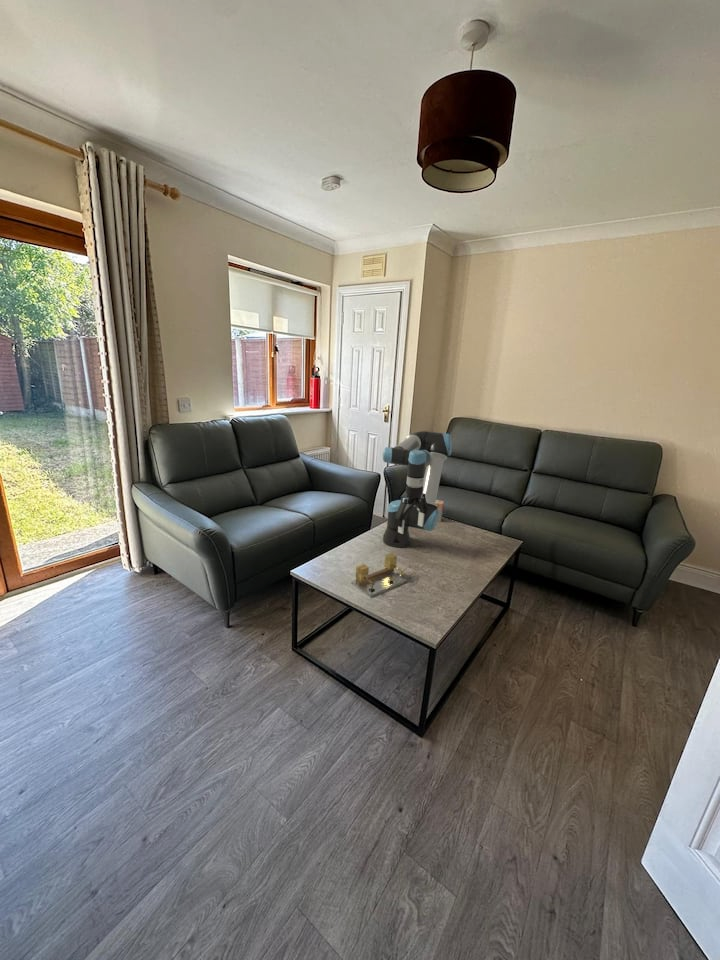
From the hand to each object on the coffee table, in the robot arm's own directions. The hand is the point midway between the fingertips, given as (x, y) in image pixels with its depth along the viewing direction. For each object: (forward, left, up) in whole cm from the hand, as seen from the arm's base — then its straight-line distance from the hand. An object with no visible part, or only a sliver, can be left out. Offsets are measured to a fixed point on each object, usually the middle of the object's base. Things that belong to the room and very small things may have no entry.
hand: (410, 529), depth 179 cm
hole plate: (+1, -19, -21) cm, 28 cm away
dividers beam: (+1, -18, -20) cm, 27 cm away
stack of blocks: (-40, +57, -22) cm, 73 cm away
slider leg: (+1, -9, -19) cm, 22 cm away
